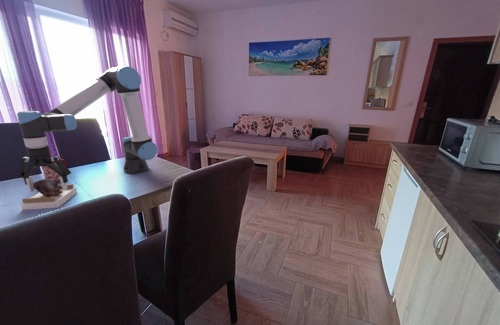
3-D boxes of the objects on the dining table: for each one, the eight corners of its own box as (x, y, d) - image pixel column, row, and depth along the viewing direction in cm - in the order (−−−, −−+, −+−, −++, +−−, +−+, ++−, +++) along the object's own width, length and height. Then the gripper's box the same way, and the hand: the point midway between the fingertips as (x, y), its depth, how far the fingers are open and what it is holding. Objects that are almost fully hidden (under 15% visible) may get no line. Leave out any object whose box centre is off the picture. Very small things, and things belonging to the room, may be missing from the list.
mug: (52, 184, 126) (46, 162, 122) (40, 182, 128) (34, 160, 124) (74, 177, 137) (69, 156, 133) (63, 175, 140) (58, 154, 136)
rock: (62, 190, 115) (36, 195, 108) (59, 174, 113) (32, 178, 107) (63, 195, 106) (34, 200, 99) (60, 177, 104) (30, 182, 98)
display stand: (77, 192, 117) (75, 183, 115) (58, 207, 102) (55, 197, 100) (46, 194, 114) (43, 185, 113) (22, 209, 99) (19, 199, 98)
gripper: (73, 144, 106) (82, 185, 112) (11, 145, 101) (24, 188, 108) (64, 147, 99) (74, 191, 105) (-3, 149, 94) (11, 194, 100)
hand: (49, 189), depth 106 cm, fingers open, 13 cm apart
